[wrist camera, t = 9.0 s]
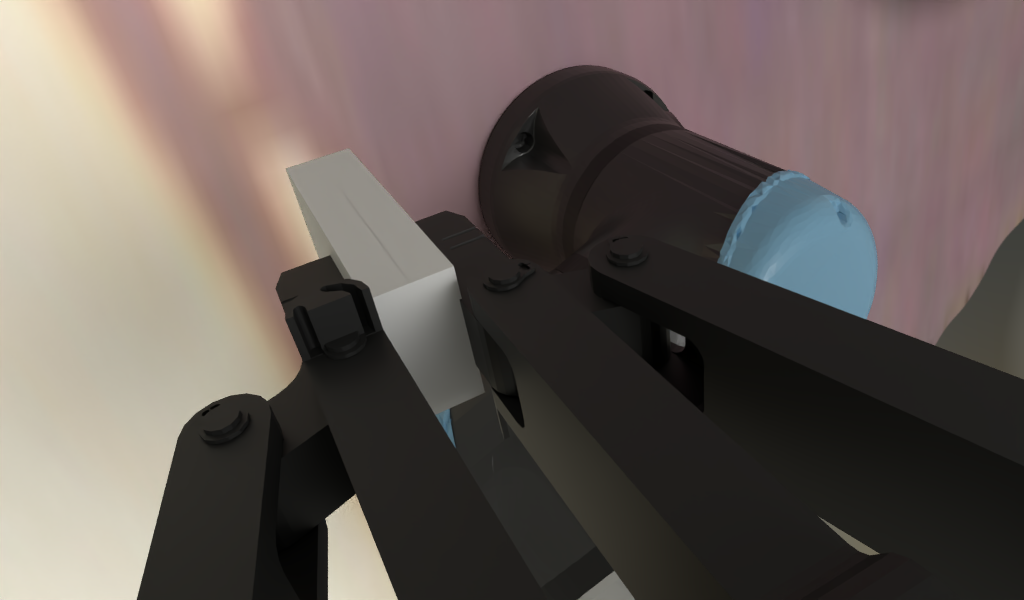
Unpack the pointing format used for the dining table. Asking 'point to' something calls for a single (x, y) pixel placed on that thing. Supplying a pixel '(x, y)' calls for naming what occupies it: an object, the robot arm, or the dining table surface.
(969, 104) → the dining table surface
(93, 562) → the dining table surface
